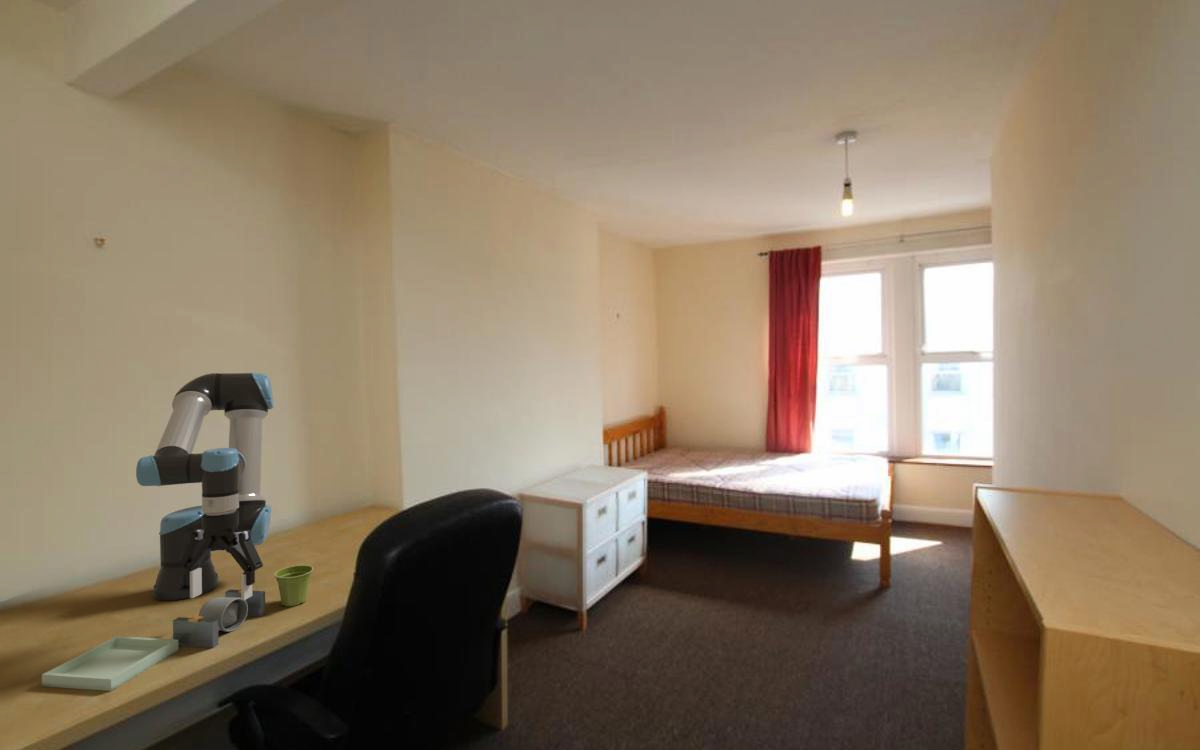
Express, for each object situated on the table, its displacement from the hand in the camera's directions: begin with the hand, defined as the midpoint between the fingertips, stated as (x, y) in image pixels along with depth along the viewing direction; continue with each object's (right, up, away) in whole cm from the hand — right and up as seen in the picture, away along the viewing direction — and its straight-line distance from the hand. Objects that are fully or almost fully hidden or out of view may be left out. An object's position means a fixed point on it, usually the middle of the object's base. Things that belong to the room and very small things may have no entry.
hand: (221, 597), depth 134 cm
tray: (-12, -9, -16) cm, 22 cm away
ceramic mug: (-1, -9, 0) cm, 9 cm away
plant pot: (+9, -8, +16) cm, 20 cm away
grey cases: (0, -8, +1) cm, 8 cm away
